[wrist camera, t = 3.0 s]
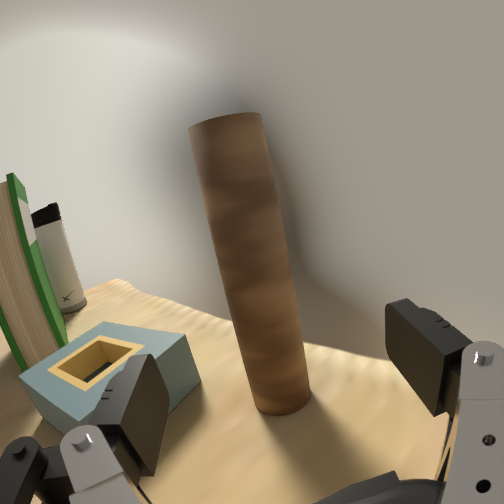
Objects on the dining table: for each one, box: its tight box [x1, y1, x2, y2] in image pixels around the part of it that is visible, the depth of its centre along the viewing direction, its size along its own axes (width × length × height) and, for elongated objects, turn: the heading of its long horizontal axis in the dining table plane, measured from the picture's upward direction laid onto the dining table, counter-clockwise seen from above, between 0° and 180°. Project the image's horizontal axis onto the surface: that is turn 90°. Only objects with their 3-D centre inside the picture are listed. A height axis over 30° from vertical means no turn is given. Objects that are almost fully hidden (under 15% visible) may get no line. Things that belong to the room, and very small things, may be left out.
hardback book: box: [0, 173, 69, 372], centre depth 36 cm, size 18×7×24 cm, turn 36°
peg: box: [188, 112, 310, 416], centre depth 21 cm, size 4×4×20 cm
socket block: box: [18, 322, 201, 435], centre depth 24 cm, size 12×12×5 cm
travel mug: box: [31, 203, 87, 314], centre depth 52 cm, size 6×7×20 cm
